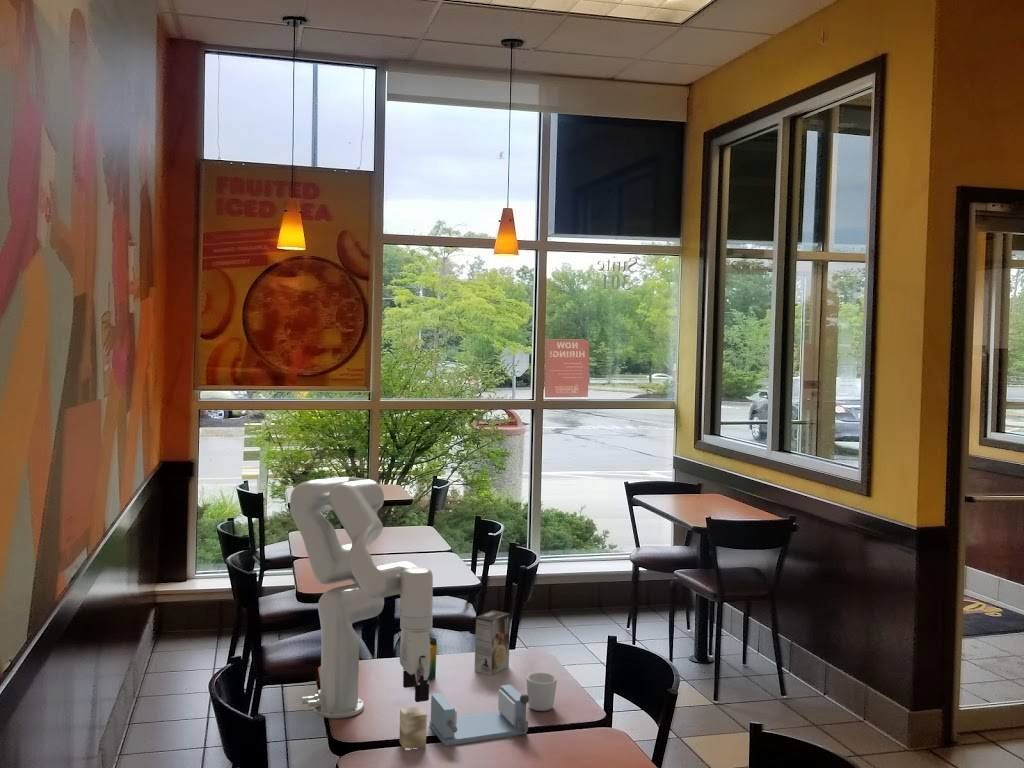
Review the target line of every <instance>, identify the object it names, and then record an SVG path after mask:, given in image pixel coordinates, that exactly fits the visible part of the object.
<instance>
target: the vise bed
mask: <svg viewBox="0 0 1024 768" xmlns="http://www.w3.org/2000/svg"><path fill="white" fill-rule="evenodd" d="M528 701H529V697H528V694H524V693H522V694H521V693H520V692H519V691H518V690H516V689H515V688H514V687H513V686H512V685H511V684H504V685H500V687H499V689H498V701H497V702H498V703H497V704H498V706H497V707H498V708H497V710H498V711H493V712H485V713H477V714H471V715H463V716H457V724H456V727H457V732H456V733H454V737H450V738H443V737H442V735H441V734H440V733H439V731H438V730H437V729H436V727H435V726H434V725H433V723H432V722H431V720H429V727H430V729H431V730H432V731H433V732H434V734H435V735H436V736H437V738H438V739H439V740H440V742H441V743H442V744H443V746H444V747H446V746H452V745H453V746H454V745H461V744H466V743H467V744H468V743H474V742H479V741H482V742H483V741H489V740H493V739H500V738H507V737H514V736H521V735H526V734H527V731H529V720H528V719H527V703H528Z"/></svg>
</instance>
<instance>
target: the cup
mask: <svg viewBox="0 0 1024 768" xmlns="http://www.w3.org/2000/svg"><path fill="white" fill-rule="evenodd" d="M557 682H558V679H557V676H555V675H554V674H551V673H547V672H533V673H529V674H528V675H527V676H526V689H527V696H528V697H529V701H528V702H527V703H528V706H529V708H531V709H532V710H534V711H537V712H545V711H550V710H551V709H553V707H554V704H555V696H556V692H557V691H556V689H557Z"/></svg>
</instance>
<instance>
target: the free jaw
mask: <svg viewBox="0 0 1024 768" xmlns="http://www.w3.org/2000/svg"><path fill="white" fill-rule="evenodd" d="M430 699H431V701H430V702H431V703H430V721H431V722H432V723H433V725H434V726H435V727H436V729H437V730H438V731H439V733H440V734H441V735H442V737H443V738H450V737H454V733H456V732H457V727H456V724H457V717H458V716H457V715H458V714H457V713H458V711H457V709H456V708H455V706H454V705H453V704H452V703H451V702H450V701H449V700H448V699H447V698H446V696H445V695H444V694H443V693H442V692H437V693H436V692H435V693H431V696H430Z"/></svg>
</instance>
